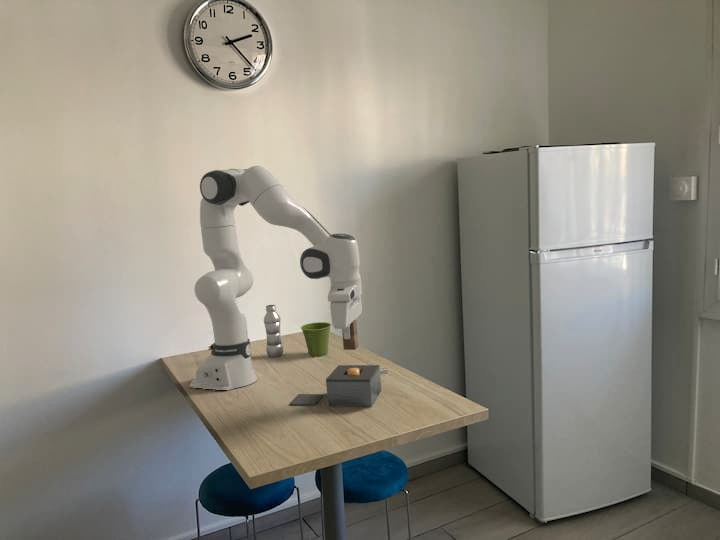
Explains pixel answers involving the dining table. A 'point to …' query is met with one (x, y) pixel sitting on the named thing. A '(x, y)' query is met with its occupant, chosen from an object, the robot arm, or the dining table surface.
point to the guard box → (353, 386)
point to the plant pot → (317, 337)
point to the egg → (353, 371)
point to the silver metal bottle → (273, 332)
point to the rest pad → (306, 399)
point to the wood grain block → (353, 341)
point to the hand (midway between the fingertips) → (349, 336)
